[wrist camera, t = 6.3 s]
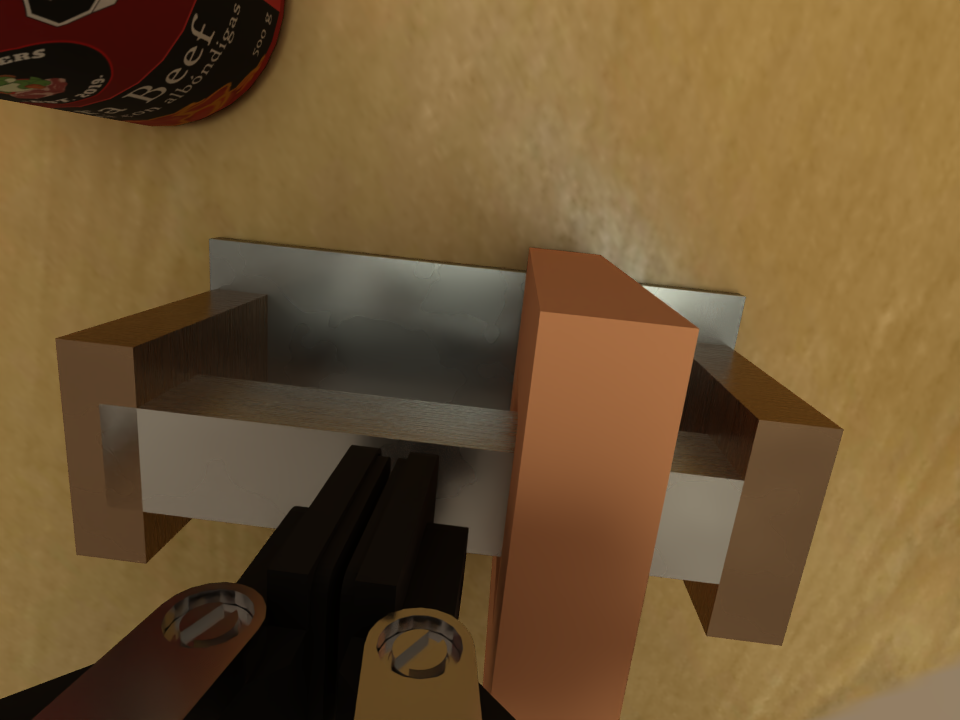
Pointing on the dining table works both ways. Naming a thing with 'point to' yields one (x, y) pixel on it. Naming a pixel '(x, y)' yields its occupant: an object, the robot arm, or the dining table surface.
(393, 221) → the dining table surface
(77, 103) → the canned food
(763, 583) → the stand
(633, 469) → the collar
